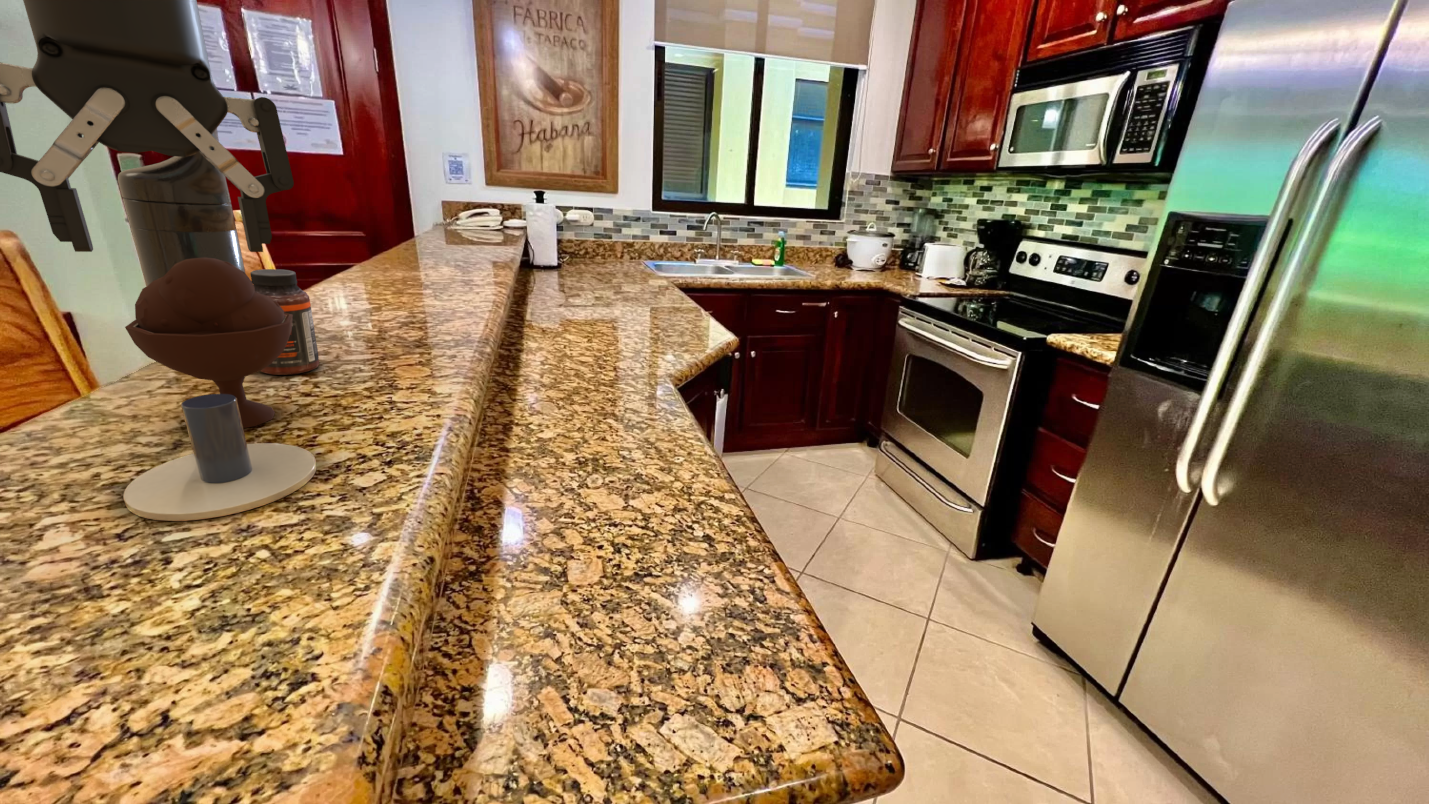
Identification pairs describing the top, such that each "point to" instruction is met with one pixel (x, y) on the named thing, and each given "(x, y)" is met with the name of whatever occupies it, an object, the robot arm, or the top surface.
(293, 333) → the supplement bottle
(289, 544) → the top surface
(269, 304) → the ice cream bowl
